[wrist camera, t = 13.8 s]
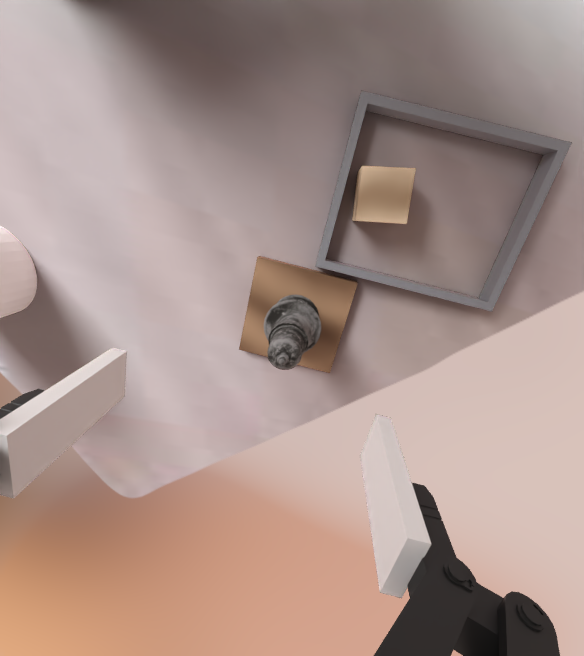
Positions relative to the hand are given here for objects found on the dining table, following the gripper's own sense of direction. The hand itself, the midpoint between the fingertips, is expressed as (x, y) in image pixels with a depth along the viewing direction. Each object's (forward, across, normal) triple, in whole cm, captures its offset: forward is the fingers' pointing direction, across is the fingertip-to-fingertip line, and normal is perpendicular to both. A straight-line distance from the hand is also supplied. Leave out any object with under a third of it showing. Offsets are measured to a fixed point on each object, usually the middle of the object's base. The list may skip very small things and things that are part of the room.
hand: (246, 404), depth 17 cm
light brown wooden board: (+21, +1, -2) cm, 21 cm away
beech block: (+22, +6, +12) cm, 26 cm away
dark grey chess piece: (+20, +1, -2) cm, 20 cm away
